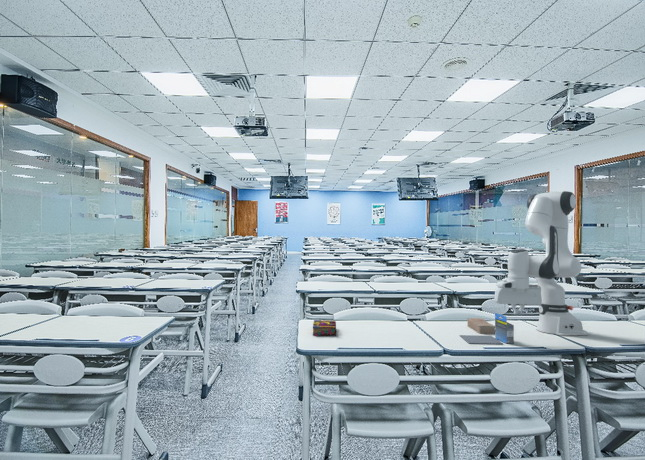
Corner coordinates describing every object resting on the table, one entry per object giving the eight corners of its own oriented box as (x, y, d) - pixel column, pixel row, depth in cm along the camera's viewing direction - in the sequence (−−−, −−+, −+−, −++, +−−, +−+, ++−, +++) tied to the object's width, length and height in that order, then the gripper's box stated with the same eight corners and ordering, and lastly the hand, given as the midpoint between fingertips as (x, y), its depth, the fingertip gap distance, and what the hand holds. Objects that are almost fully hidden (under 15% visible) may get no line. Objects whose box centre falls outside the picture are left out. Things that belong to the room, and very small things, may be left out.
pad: (491, 336, 178) (491, 335, 178) (503, 344, 165) (503, 343, 165) (459, 336, 179) (459, 335, 179) (468, 343, 166) (468, 342, 166)
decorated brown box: (335, 328, 192) (335, 319, 192) (336, 337, 176) (336, 326, 176) (313, 328, 193) (313, 319, 193) (312, 336, 176) (312, 326, 177)
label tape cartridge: (514, 343, 167) (514, 316, 167) (506, 344, 166) (506, 316, 166) (502, 338, 176) (502, 312, 176) (494, 338, 175) (494, 312, 175)
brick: (496, 334, 184) (496, 325, 184) (479, 334, 184) (479, 324, 184) (482, 326, 200) (482, 318, 200) (466, 326, 200) (466, 317, 201)
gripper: (537, 284, 174) (537, 313, 173) (493, 282, 175) (492, 312, 174) (544, 285, 168) (544, 316, 167) (498, 284, 169) (498, 314, 168)
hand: (517, 314), depth 171 cm, fingers closed
